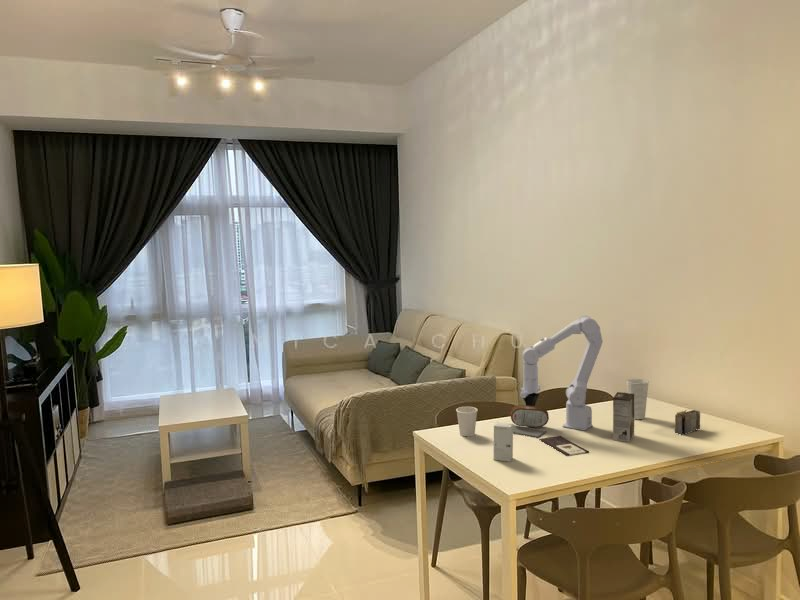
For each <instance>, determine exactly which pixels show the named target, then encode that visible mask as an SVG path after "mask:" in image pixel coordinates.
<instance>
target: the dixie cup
mask: <svg viewBox="0 0 800 600" xmlns="http://www.w3.org/2000/svg"><path fill="white" fill-rule="evenodd" d="M455 411H456V415H457V422H458V423H457V424H458V429H459V435H460V436H461V435H462V436H461V437H464V436H471V437H474V436H475V434H476V426H477V415H478V408H476V407H473V406H460V407H458V408H456V409H455Z"/></svg>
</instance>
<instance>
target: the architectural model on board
mask: <svg viewBox="0 0 800 600" xmlns="http://www.w3.org/2000/svg"><path fill="white" fill-rule="evenodd" d="M674 415H675V416H674V417H675V419H674V421H675V422H674V424H675V425H674V427H675V428H674V433H678V434H677V435H679V434H684V433H687V434H689V433H688V432H690V433H692V432H691V431H694V432H696V431H695V430H696V429H700V430H701V411H700V410H696V409H693V410H689V411H688V410H683V411H678V412H676V414H674ZM682 431H683V432H682Z"/></svg>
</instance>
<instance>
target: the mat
mask: <svg viewBox="0 0 800 600" xmlns="http://www.w3.org/2000/svg"><path fill="white" fill-rule="evenodd" d="M513 433H514V434H515V435H520V436H524V435H525V437H529V436H530V437H531V438H535V437H536V439H538V438H540V437H542V436H543V435H545V434H546V433H547V430H544V429H537V428H534V427H528V426H518V425H516V424H513ZM544 433H545V434H544ZM514 434H513V435H514ZM541 435H542V436H541Z"/></svg>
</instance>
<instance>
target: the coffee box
mask: <svg viewBox="0 0 800 600" xmlns="http://www.w3.org/2000/svg"><path fill="white" fill-rule="evenodd" d="M612 402H613V405H612V408H613V409H612V412H613V413H612V414H613V415H612V440H613V441H618V440H619V441H618V442H625V441H627V442H626V443H631V442H632V440H633V438H634V436H635V419H634V394H629V393H628V392H621V391H618V392H616V393H615V395H614V396H613V399H612Z"/></svg>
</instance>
